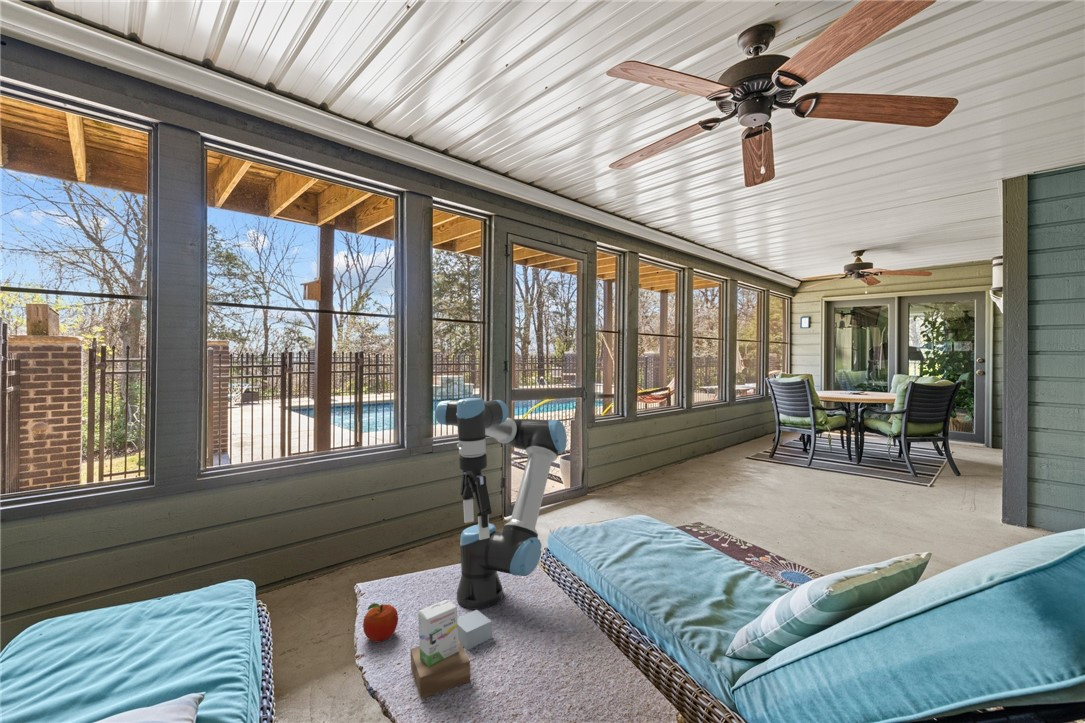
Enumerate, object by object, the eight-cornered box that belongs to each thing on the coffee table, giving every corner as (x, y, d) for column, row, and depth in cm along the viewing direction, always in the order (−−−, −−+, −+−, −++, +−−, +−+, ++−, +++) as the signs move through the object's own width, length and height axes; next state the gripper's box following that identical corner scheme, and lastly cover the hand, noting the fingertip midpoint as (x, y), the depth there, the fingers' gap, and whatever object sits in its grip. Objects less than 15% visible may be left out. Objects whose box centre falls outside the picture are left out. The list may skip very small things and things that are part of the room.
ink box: (428, 667, 110) (426, 618, 110) (418, 658, 113) (417, 610, 113) (459, 651, 115) (457, 605, 115) (449, 643, 119) (448, 598, 119)
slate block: (453, 637, 130) (452, 619, 130) (477, 626, 135) (476, 609, 135) (467, 650, 124) (466, 632, 124) (492, 638, 129) (491, 621, 129)
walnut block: (411, 668, 117) (410, 649, 117) (456, 653, 123) (456, 635, 122) (420, 699, 106) (420, 677, 106) (470, 681, 112) (469, 661, 112)
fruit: (402, 640, 129) (401, 604, 129) (366, 651, 124) (365, 615, 124) (394, 623, 138) (393, 590, 138) (360, 634, 133) (359, 600, 133)
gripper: (448, 447, 136) (451, 518, 137) (473, 465, 114) (477, 549, 114) (472, 444, 139) (475, 513, 140) (501, 461, 117) (505, 543, 118)
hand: (476, 529), depth 127 cm, fingers open, 13 cm apart
